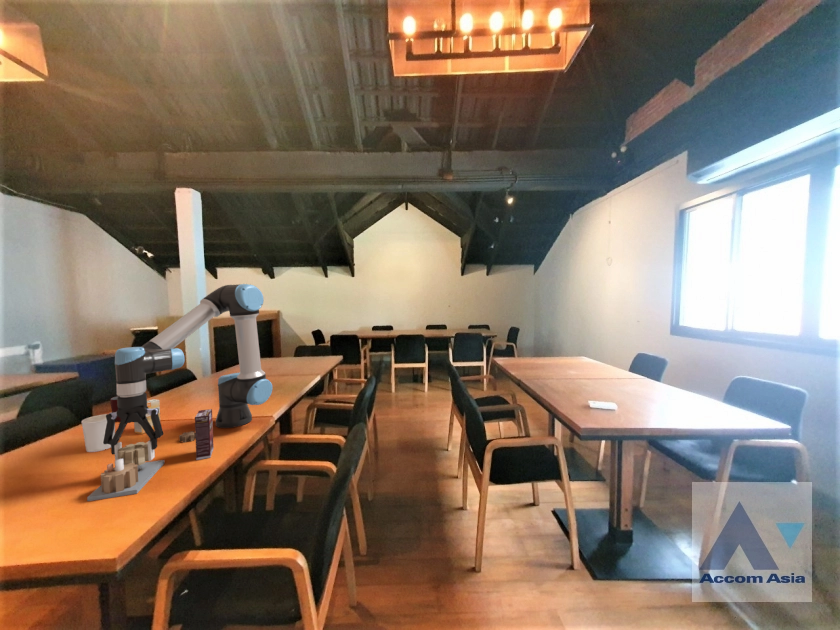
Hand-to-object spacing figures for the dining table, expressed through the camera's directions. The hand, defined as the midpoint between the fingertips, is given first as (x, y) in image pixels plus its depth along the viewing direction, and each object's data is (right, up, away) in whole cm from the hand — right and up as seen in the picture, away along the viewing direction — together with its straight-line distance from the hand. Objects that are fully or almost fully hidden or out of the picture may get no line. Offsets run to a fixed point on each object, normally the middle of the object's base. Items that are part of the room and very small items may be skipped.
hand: (135, 460), depth 114 cm
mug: (-49, -3, +54) cm, 74 cm away
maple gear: (0, 0, 0) cm, 0 cm away
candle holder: (-32, -4, +21) cm, 38 cm away
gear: (-1, -3, +28) cm, 28 cm away
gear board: (+1, -5, -4) cm, 6 cm away
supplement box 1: (-27, -3, +39) cm, 47 cm away
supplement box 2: (+15, -4, +14) cm, 21 cm away
